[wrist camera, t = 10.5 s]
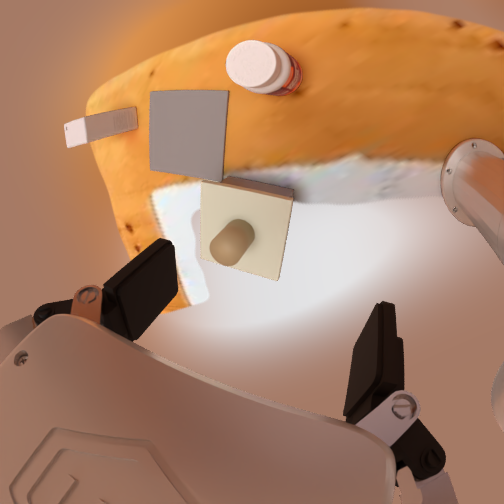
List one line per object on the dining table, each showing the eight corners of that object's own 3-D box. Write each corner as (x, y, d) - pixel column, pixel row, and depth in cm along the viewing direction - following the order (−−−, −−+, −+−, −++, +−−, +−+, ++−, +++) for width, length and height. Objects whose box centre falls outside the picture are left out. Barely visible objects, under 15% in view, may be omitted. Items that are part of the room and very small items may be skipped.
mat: (229, 91, 34) (228, 90, 33) (222, 181, 41) (221, 182, 41) (151, 91, 37) (150, 91, 37) (151, 169, 45) (150, 170, 44)
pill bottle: (305, 93, 31) (286, 88, 22) (260, 98, 33) (225, 97, 24) (299, 51, 28) (277, 30, 19) (254, 57, 30) (217, 43, 21)
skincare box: (116, 133, 43) (66, 148, 33) (114, 111, 41) (62, 123, 31) (139, 129, 41) (86, 143, 32) (137, 106, 39) (83, 116, 29)
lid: (293, 198, 32) (281, 217, 28) (279, 277, 39) (266, 304, 34) (204, 179, 35) (179, 194, 30) (203, 255, 42) (183, 276, 37)
